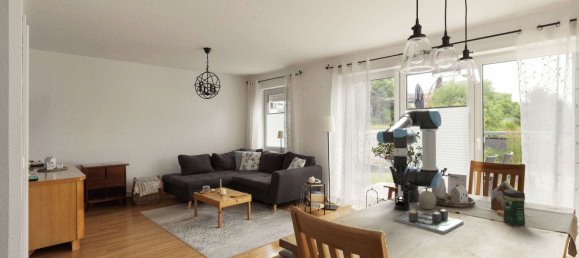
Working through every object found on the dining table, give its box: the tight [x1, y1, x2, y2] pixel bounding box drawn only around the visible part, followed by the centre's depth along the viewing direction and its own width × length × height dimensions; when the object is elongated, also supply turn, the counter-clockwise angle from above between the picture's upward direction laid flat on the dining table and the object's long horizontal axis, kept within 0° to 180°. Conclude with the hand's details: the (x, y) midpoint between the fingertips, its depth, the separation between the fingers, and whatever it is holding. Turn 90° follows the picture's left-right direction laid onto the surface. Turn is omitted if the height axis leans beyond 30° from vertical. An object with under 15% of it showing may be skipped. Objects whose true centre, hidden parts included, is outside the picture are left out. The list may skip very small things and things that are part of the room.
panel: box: [393, 209, 464, 235], centre depth 168 cm, size 24×28×2 cm
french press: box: [393, 183, 411, 212], centre depth 193 cm, size 12×9×23 cm
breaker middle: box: [431, 211, 441, 222], centre depth 164 cm, size 4×3×4 cm
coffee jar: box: [502, 188, 526, 227], centre depth 163 cm, size 10×8×19 cm
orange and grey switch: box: [409, 210, 418, 221], centre depth 166 cm, size 4×3×4 cm
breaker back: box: [438, 208, 449, 219], centre depth 169 cm, size 4×3×4 cm
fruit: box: [418, 187, 437, 210], centre depth 194 cm, size 10×12×15 cm
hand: (400, 196), depth 172 cm, fingers closed
